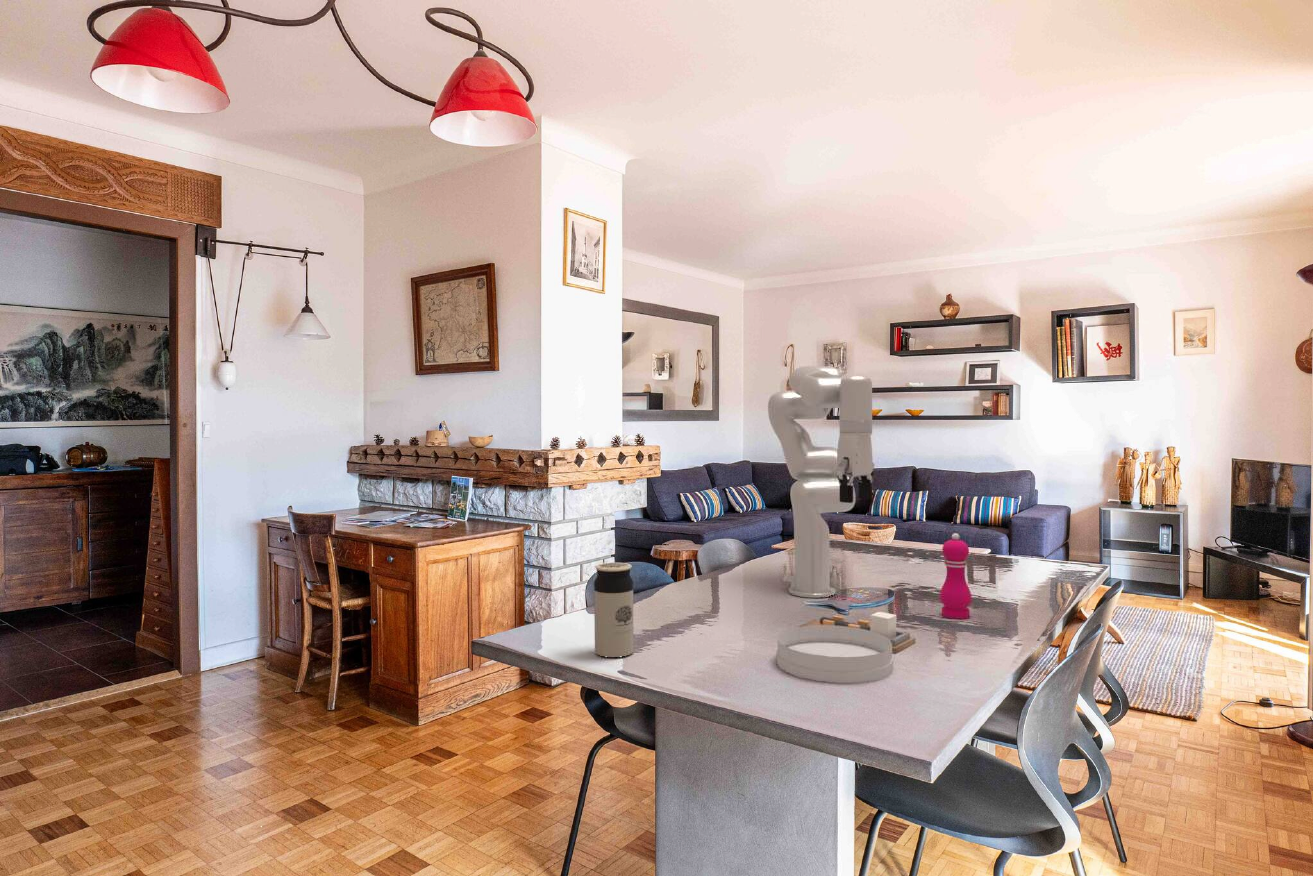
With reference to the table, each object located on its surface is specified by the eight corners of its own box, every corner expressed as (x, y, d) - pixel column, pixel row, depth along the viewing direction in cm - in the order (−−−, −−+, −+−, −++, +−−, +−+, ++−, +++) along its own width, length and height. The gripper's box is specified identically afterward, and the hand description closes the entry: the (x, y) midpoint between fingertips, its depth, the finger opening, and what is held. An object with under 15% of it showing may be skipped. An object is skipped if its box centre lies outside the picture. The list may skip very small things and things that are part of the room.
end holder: (864, 640, 161) (864, 634, 161) (879, 633, 167) (879, 627, 167) (895, 646, 157) (895, 640, 157) (909, 638, 162) (909, 632, 162)
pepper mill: (966, 612, 188) (966, 531, 188) (975, 619, 181) (975, 535, 181) (936, 611, 189) (936, 531, 189) (944, 619, 182) (944, 535, 181)
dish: (818, 642, 165) (818, 619, 165) (914, 665, 149) (914, 639, 149) (753, 665, 149) (753, 640, 149) (852, 694, 133) (852, 665, 133)
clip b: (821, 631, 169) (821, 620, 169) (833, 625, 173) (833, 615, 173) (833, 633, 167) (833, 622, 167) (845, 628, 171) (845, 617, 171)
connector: (815, 626, 171) (816, 604, 170) (824, 622, 174) (824, 600, 173) (888, 642, 160) (888, 618, 159) (895, 638, 163) (896, 615, 162)
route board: (792, 633, 171) (792, 628, 171) (814, 623, 179) (814, 619, 179) (895, 653, 155) (895, 648, 155) (915, 642, 163) (915, 637, 163)
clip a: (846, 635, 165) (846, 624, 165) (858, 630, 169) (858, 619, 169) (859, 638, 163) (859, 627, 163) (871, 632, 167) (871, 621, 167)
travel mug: (589, 650, 159) (588, 563, 159) (625, 645, 162) (624, 560, 162) (602, 661, 152) (601, 570, 152) (639, 655, 155) (638, 567, 155)
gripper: (857, 428, 191) (857, 496, 191) (823, 429, 178) (824, 502, 178) (886, 428, 186) (886, 498, 186) (853, 429, 173) (853, 504, 173)
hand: (856, 500), depth 182 cm, fingers open, 9 cm apart
